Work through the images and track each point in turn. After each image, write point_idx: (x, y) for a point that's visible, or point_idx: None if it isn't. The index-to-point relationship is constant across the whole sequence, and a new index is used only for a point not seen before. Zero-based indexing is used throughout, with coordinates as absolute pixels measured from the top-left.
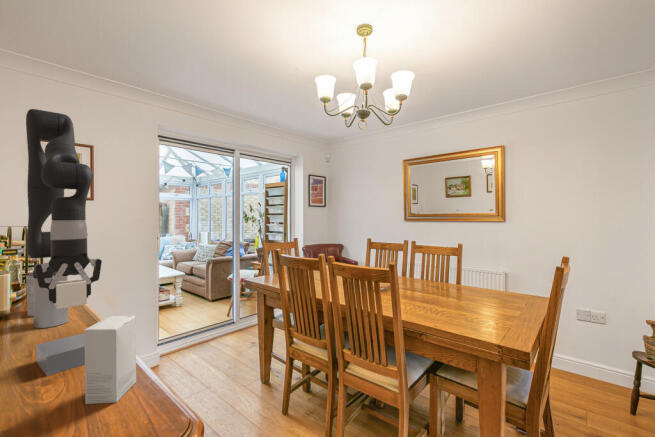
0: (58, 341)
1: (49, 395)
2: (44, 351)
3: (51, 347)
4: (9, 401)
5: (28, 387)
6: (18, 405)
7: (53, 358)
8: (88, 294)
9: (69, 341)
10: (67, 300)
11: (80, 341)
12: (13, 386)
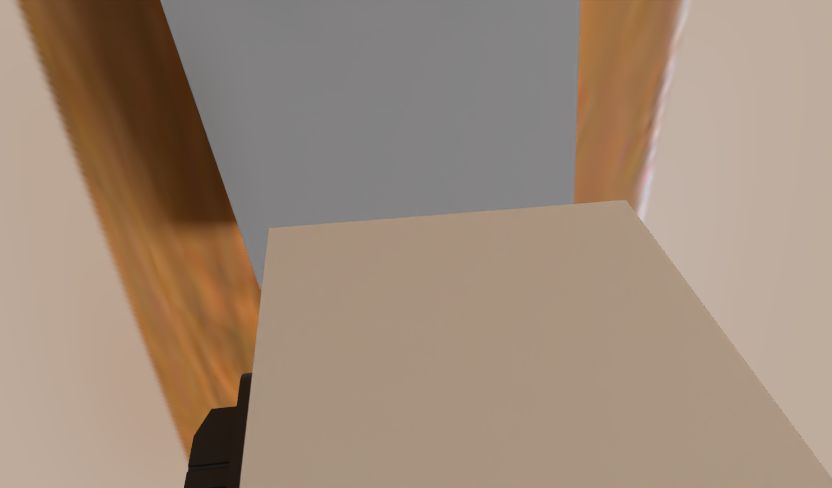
0: (312, 3)
1: None
2: (236, 183)
3: (271, 130)
4: (164, 366)
5: (207, 291)
6: (204, 407)
7: None
8: None
9: (387, 75)
10: None
11: (451, 137)
12: (136, 240)
